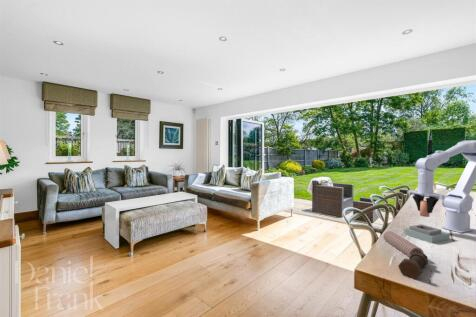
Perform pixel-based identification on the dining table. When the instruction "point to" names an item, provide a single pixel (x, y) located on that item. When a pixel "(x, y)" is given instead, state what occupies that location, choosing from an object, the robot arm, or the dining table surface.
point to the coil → (401, 243)
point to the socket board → (426, 233)
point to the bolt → (413, 265)
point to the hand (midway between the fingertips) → (424, 211)
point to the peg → (424, 209)
